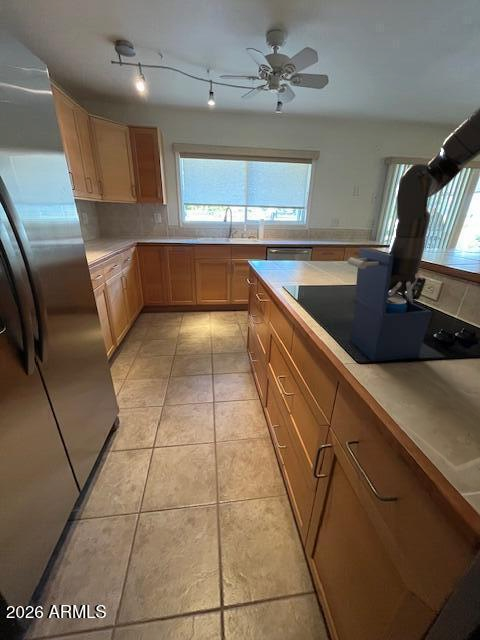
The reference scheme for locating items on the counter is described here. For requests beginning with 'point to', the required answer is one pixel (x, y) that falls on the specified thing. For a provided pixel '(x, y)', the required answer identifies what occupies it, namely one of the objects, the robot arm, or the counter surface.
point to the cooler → (389, 332)
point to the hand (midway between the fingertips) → (391, 314)
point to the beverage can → (395, 305)
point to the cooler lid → (373, 277)
